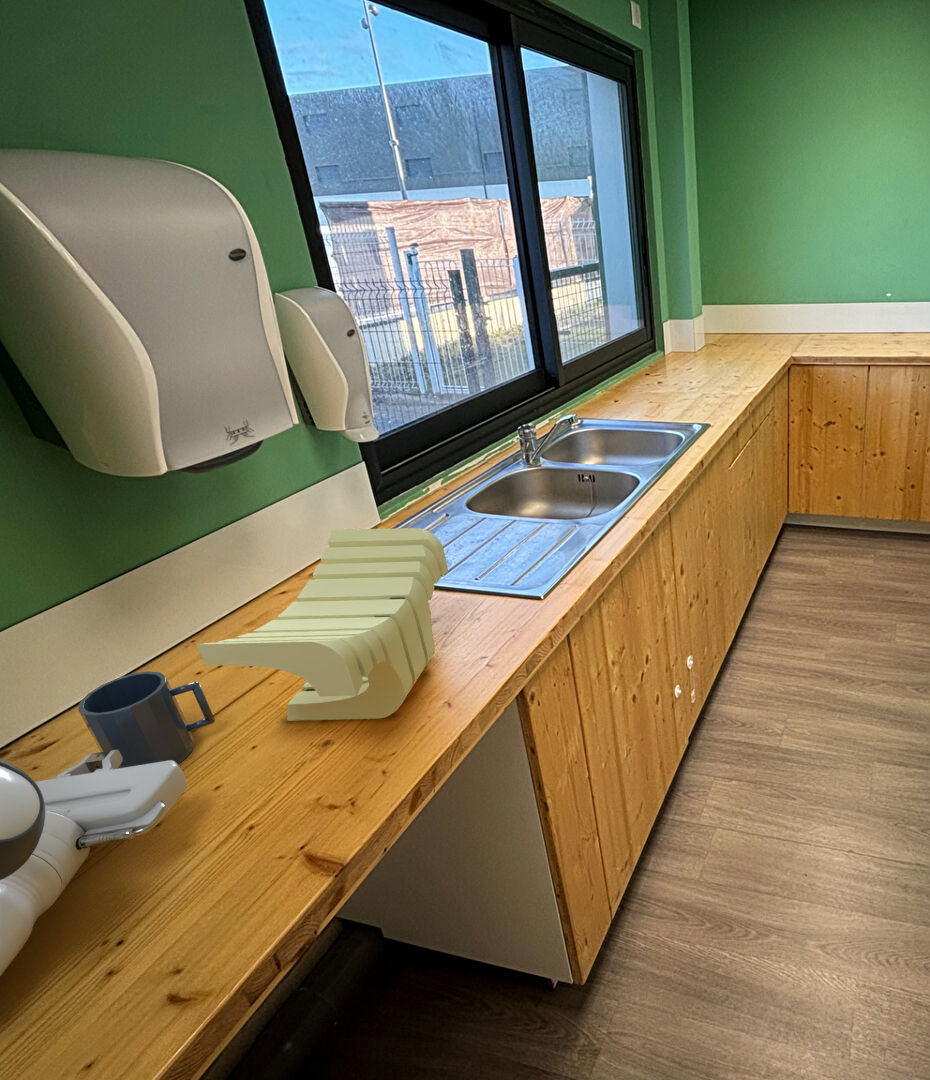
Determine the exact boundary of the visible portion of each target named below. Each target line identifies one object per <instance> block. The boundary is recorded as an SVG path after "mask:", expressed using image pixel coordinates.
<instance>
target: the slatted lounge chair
mask: <svg viewBox="0 0 930 1080" xmlns="http://www.w3.org/2000/svg"><path fill="white" fill-rule="evenodd" d="M327 544H328V547H325V548H324V550H323V552H322V555H321V557H320V562H321V563H318V564H317V565H316V567H315V569H314V571H313V573H312V578H313V579H312V578H311V579H309V580H308V581H307V582H306V584H305V585H304V587H303V588H302V589H301V591H300V593H299V594H298V595H297V596H296V600H297V601H292V602H291V603H290V604H289V605H288V606H287V607H286V608H285V610H283V611H281V613H279V614H278V615H277V616H276V618H277V619H272V620H270V621H268V622H267V623H264V625H262V626H260V627H257V628H256V629H253V630H252V632H247V633H244V634H241V635H238V636H236V638H228V639H223V640H218V641H217V642H205V643H197V644H195V645H196V648H197V649H198V652H199V655H200V657H201V660H202V661H203V664H204V666H237V667H238V666H241V667H257V668H266V669H273V670H279V671H283V672H287V673H290V674H292V675H295V676H297V677H299V678H301V679H302V680H304V681H306V682H305V683H304V684H303V686H302V690H301V691H299V690H298V691H297V693H296V694H295V695H294V696H293V697H292V698H291V699H290V700H289V702H287V704H286V706H287V707H286V709H287V718H286V721H287V722H288V721H289V722H290V721H292V722H293V721H328V720H329V721H331V720H333V721H334V720H336V721H337V720H372V719H373V720H374V719H384V718H387V717H389V716H391V715H392V714H394V713H396V712H397V710H398V709H399V708H400V707H401V706H402V704H403V703H404V702H405V700H406V698H407V697H408V695H409V693H410V692H411V691H412V688H413V687H414V685H415V684H416V683H417V681H418V679H419V678H420V676H421V675H422V673H423V671H424V670H425V668H426V667H427V666H428V663H430V661H431V659H432V658H433V656H434V654H435V650H436V646H435V640H434V635H433V625H432V615H431V614H432V611H431V606H430V602H429V601H432V597H433V593H434V590H435V585H436V584H438V582H439V581H440V579H441V578H442V576H445V575H446V574H447V573H450V572H449V567H448V562H447V558H446V553H445V549H444V547H443V544H442V542H441V541H440V539H439V538H438V537H437V536H436V535H434V533H432V532H431V531H428V530H426V529H424V528H420V527H398V528H397V527H396V528H395V527H394V528H368V529H367V528H363V529H362V528H361V529H360V528H359V529H332V530H331V532H330V535H329V538H328V541H327Z"/></svg>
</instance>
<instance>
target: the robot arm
mask: <svg viewBox="0 0 930 1080" xmlns="http://www.w3.org/2000/svg"><path fill="white" fill-rule="evenodd" d="M122 761H123V757H122V755H121V753H120V752H119V750H112V751H106V752H101V751H100V752H93V753H91V752H90V753H87V754H86V755H85V756H84V757H83V758H82V759H81V760H80V761H79V763H76V764H74V765H73V766H71V767H69V768H67V769H65V770H64V771H61V772H60V773H58V774H56V776H55V777H54V778H49V779H43V780H38V781H37V780H36V781H35V780H34V779H33V778H32V777H31V776H30V775H29V774H28V773H26V772H25V771H24V770H22V769H21V768H19V767H17V766H16V765H14V764H12V763H11V762H9V761H7V760H5V759H3V758H0V977H1V976H2V975H3V974H4V972H5V971H6V970H7V969H8V967H9V966H10V965H11V964H12V962H13V961H14V960H15V958H16V957H17V956H18V955H19V953H20V951H21V950H23V947H24V946H25V944H26V943H27V941H28V940H29V938H30V937H31V934H32V931H33V928H34V925H35V923H36V921H37V920H38V918H39V917H40V916H42V915H43V914H44V913H45V912H47V910H49V909H51V907H52V906H53V905H54V904H55V903H56V901H57V900H58V898H60V896H61V894H62V893H63V892H64V890H65V889H66V887H67V886H68V885H69V883H70V882H71V880H72V879H73V878H74V876H75V875H76V873H77V872H78V871H79V869H81V866H82V865H83V864H84V863H85V861H86V859H88V856H89V854H90V850H91V848H94V847H99V846H103V845H107V844H112V843H123V842H128V841H131V840H134V838H136V837H138V836H142V835H144V834H146V833H147V832H149V831H150V830H152V829H154V828H155V827H156V826H157V825H158V824H159V823H160V822H161V821H162V820H163V819H164V818H165V817H166V816H167V814H168V813H169V812H170V811H171V810H172V808H173V807H175V805H176V804H177V802H178V801H179V800H180V798H181V797H182V796H183V794H184V793H185V791H186V790H187V788H188V781H187V778H186V776H185V774H184V772H183V769H182V768H181V767H180V765H179V764H177V763H176V762H175V761H172V760H169V761H162V762H156V763H150V764H144V765H137V766H131V767H125V768H118V767H119V766H120V764H121V763H122ZM117 768H118V769H117Z"/></svg>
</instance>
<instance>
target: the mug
mask: <svg viewBox="0 0 930 1080" xmlns="http://www.w3.org/2000/svg"><path fill="white" fill-rule="evenodd" d="M191 691H192V692H193V695H194V697H195V700H196V702H197V704H198V706H199V709H200V711H201V713H202V716H203V717H204V718H202V719H199V720H196V721H193V722H191V723H190V722H189V723H188V722H187V720H186V717H185V715H184V713H183V711H182V709H181V707H180V705H179V702H178V700H177V698H176V696H178V695H182V694H185V693H188V692H191ZM77 711H78V713H79V714H80V716H81V718H82V720H83V722H84V723H85V725H86V728H87V729H88V731H89V734H91V737H92V738H93V740H94V742H95V744H96V746H97V748H98V749H99V751H100V752H106V751H112V750H119V752H120V753H121V755H122V757H123V761H122V763H121V764H120V766H119V767H118V768H125V767H131V766H137V765H144V764H150V763H156V762H162V761H169V760H172V761H175V762H176V763H177V764H178V765H179V764H181V763H182V762H183V761H185V760H186V759H187V758H188V757H189V756H190V754H191V753H192V752H193V750H194V748H195V744H196V742H195V739H194V737H193V733H192V731H194V730H197V729H200V728H204V727H207V726H209V725H212V724H214V723H215V721H216V718H215V716H214V713H213V711H212V709H211V707H210V704H209V702H208V700H207V698H206V695H205V693H204V691H203V688H202V686H201V683H200V682H198V681H192V682H190V683H189V682H188V683H187V684H183V685H180V686H176V687H174V688H172V687H171V685H170V683H169V681H168V678H167V676H166V675H164V674H163V673H161V672H160V671H141V672H140V671H139V672H134V673H130V674H126V675H123V676H120V677H117V678H115V679H112V680H110V681H107V682H105V683H103V684H101V685H99V686H98V687H96V688H94V689H93V690H92V691H90V692H88V693H87V694H86V695H85V696H84V697H83V698H82V699H81V700H80V701H79V704H78V709H77ZM118 768H117V769H118Z"/></svg>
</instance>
